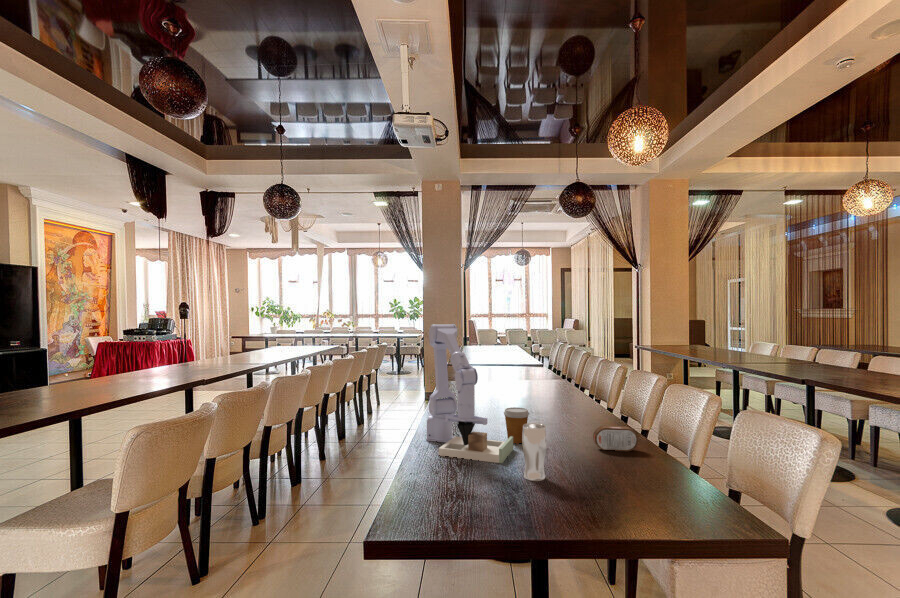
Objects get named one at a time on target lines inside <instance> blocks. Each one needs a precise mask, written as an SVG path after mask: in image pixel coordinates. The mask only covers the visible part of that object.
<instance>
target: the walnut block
mask: <svg viewBox="0 0 900 598" xmlns="http://www.w3.org/2000/svg"><path fill="white" fill-rule="evenodd" d="M487 440H488V432H481V431H472V432H471V433H470V434H469V435H468V450H471V451H479V452H483V451H484V450H485V449H486V448H487Z"/></svg>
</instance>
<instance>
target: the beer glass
mask: <svg viewBox="0 0 900 598" xmlns="http://www.w3.org/2000/svg"><path fill="white" fill-rule="evenodd" d="M521 445H522V450H523V457H524V464H525V465H524V466H525V467H524V474H523V478H524V479H525V480H527V481H530V482H541V481H544V480H545V479H546V474H545V468H544V466H545V465H544V464H545V457H546V450H547V430H546V425H544V424H541V423H534V422H531V423H528V422H527V424H524V425H523V434H522V444H521Z"/></svg>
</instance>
